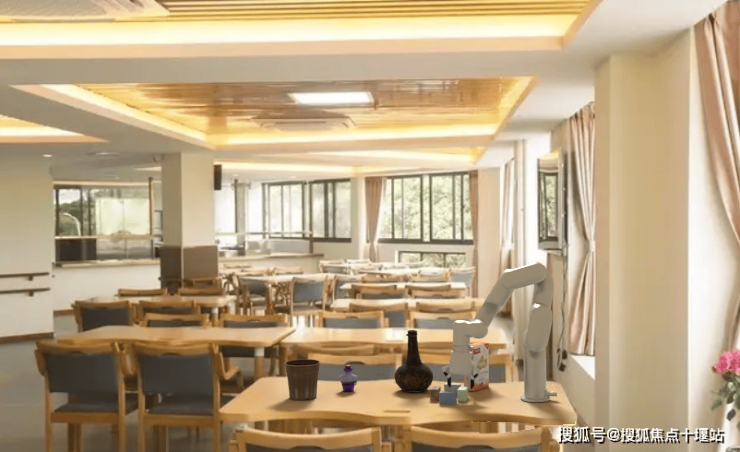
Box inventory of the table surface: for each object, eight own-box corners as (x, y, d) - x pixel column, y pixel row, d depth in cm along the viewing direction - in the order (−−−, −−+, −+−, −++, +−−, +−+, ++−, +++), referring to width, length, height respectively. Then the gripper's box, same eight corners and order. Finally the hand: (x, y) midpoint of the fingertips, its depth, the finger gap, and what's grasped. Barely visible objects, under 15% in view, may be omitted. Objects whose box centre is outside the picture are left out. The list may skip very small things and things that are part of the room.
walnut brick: (440, 397, 371) (440, 386, 371) (437, 401, 364) (437, 389, 364) (433, 397, 372) (432, 386, 372) (430, 400, 365) (429, 389, 365)
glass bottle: (433, 386, 395) (432, 327, 395) (432, 394, 377) (431, 332, 377) (396, 386, 397) (395, 327, 397) (393, 394, 379) (392, 333, 379)
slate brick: (460, 394, 377) (460, 383, 377) (459, 396, 374) (459, 384, 374) (445, 393, 379) (445, 382, 379) (444, 395, 376) (444, 384, 376)
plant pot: (315, 402, 366) (314, 365, 366) (280, 401, 369) (279, 365, 369) (325, 394, 382) (324, 359, 382) (291, 393, 385) (290, 358, 385)
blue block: (456, 403, 360) (456, 391, 360) (455, 405, 356) (455, 393, 356) (440, 402, 361) (440, 391, 361) (439, 404, 358) (439, 392, 358)
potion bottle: (360, 391, 387) (360, 365, 387) (343, 393, 383) (343, 367, 383) (353, 388, 395) (352, 362, 395) (336, 390, 391) (335, 364, 391)
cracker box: (475, 392, 381) (474, 346, 381) (463, 390, 385) (462, 345, 385) (490, 386, 392) (489, 342, 392) (478, 385, 396) (478, 341, 396)
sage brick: (467, 398, 369) (467, 386, 369) (465, 401, 362) (465, 390, 362) (460, 397, 370) (459, 386, 370) (457, 401, 363) (457, 389, 363)
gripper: (482, 348, 367) (481, 387, 368) (443, 346, 372) (442, 384, 372) (479, 351, 360) (479, 390, 360) (440, 349, 365) (439, 388, 365)
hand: (460, 387), depth 366 cm, fingers open, 9 cm apart
